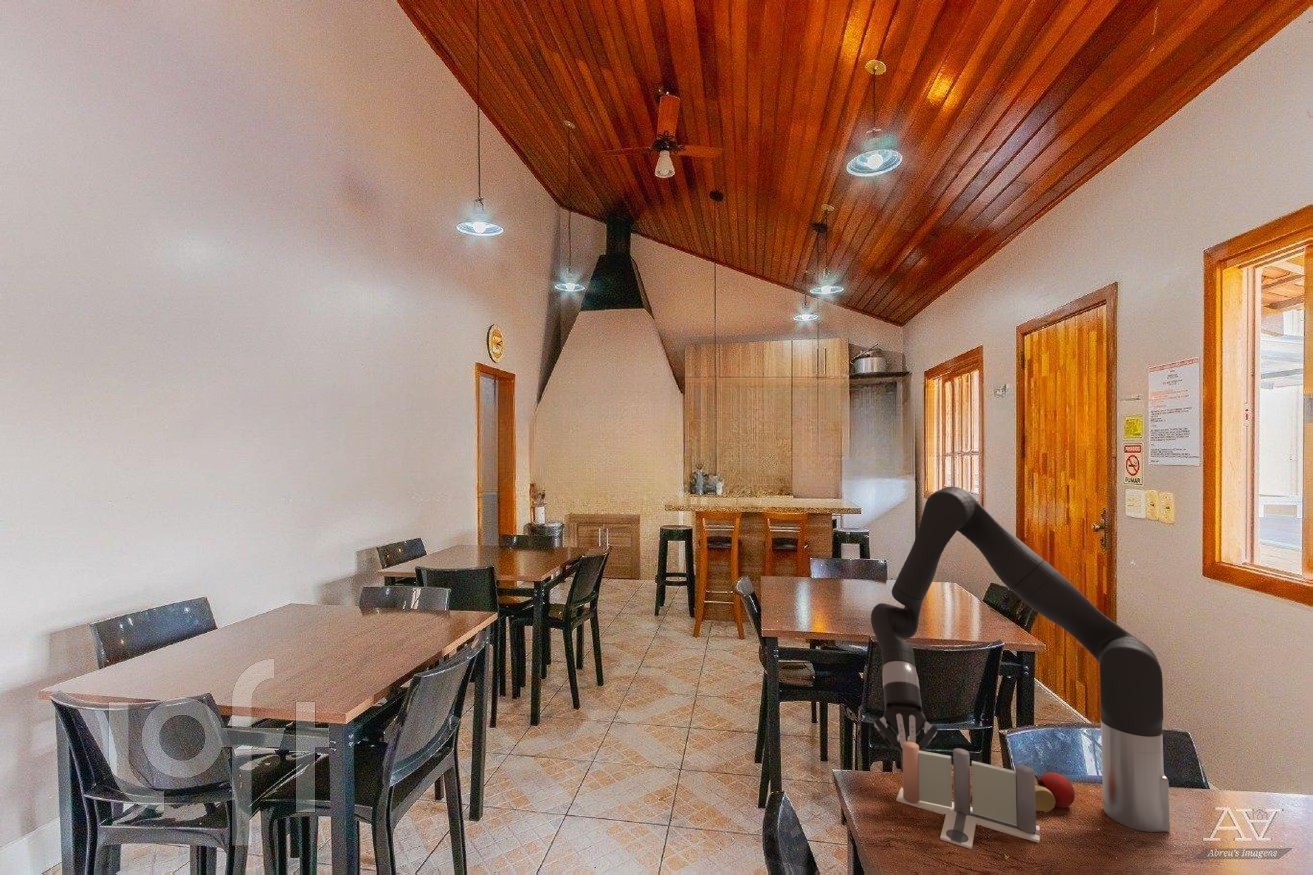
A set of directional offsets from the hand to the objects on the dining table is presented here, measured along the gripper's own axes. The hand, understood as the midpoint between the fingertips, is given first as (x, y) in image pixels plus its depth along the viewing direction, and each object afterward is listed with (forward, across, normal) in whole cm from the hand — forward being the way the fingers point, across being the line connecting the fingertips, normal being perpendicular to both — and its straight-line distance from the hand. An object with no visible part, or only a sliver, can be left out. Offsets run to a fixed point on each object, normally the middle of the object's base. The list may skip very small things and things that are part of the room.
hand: (910, 771), depth 120 cm
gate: (+5, +3, +1) cm, 5 cm away
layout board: (+9, +8, -2) cm, 12 cm away
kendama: (+1, +22, +7) cm, 23 cm away
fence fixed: (+7, +14, 0) cm, 15 cm away
